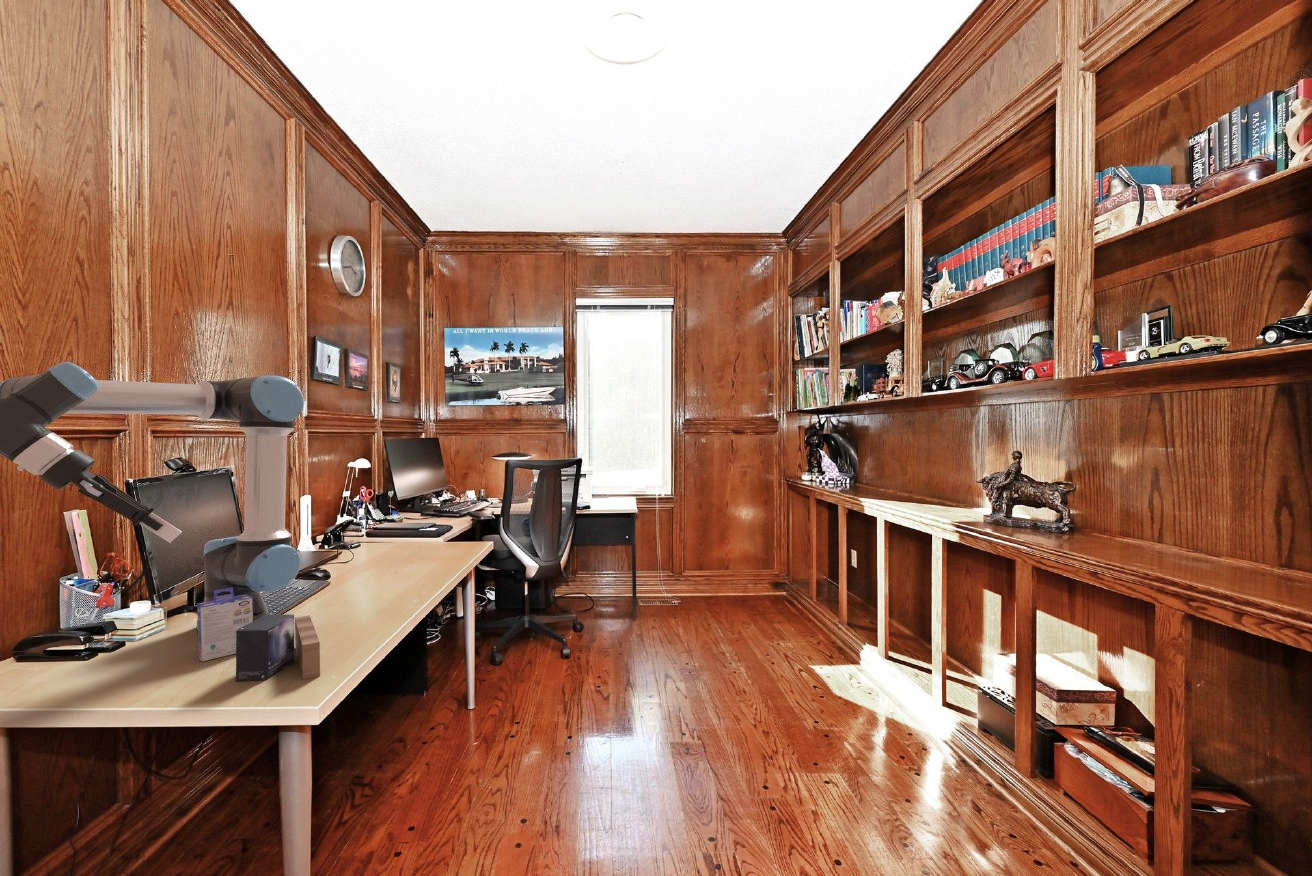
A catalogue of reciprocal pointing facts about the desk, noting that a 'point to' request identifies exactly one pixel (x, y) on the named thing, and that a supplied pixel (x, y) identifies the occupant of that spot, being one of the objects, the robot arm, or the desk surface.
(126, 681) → the desk surface
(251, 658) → the small box
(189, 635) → the desk surface
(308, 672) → the walnut board
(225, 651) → the ink cartridge box
